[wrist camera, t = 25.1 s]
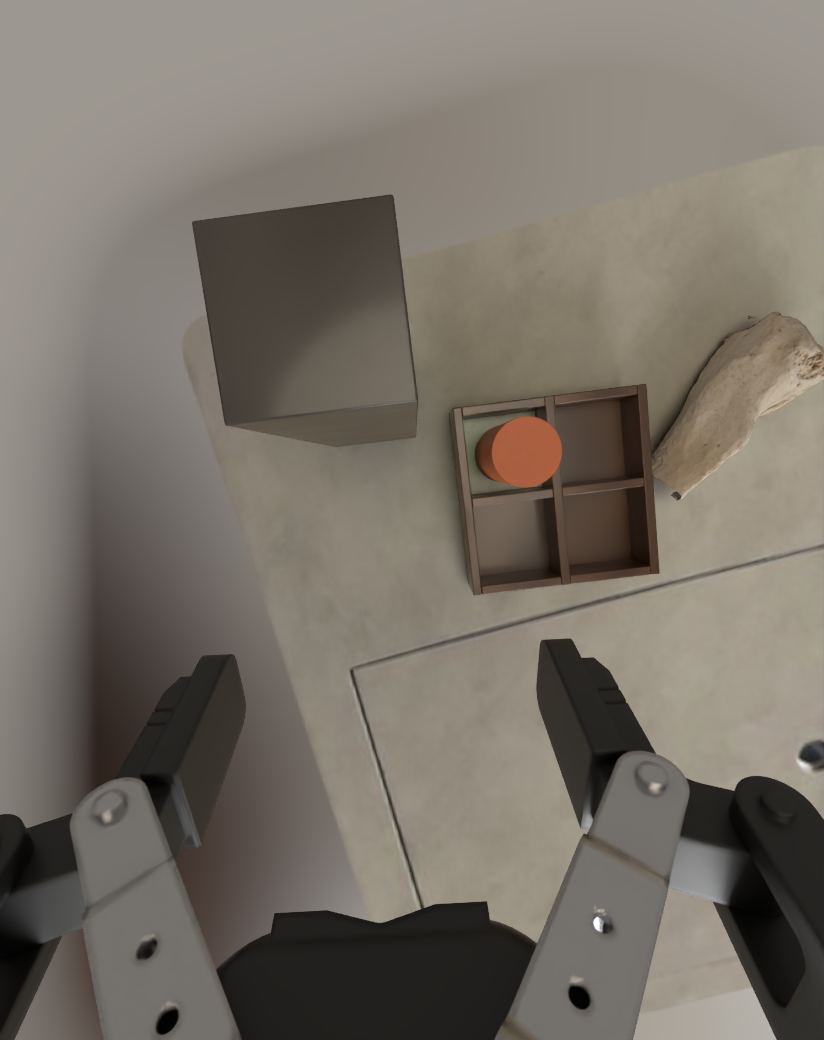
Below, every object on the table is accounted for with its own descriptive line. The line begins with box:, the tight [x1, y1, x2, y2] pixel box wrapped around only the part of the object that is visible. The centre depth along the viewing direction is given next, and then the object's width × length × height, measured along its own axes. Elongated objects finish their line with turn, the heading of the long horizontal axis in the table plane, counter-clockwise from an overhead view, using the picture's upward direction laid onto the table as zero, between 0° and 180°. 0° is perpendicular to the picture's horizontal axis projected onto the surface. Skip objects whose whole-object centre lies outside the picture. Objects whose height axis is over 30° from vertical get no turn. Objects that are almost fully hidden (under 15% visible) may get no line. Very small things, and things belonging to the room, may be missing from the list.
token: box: [475, 416, 562, 487], centre depth 33 cm, size 4×4×8 cm
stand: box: [192, 195, 418, 447], centre depth 26 cm, size 6×6×22 cm
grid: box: [449, 384, 659, 595], centre depth 36 cm, size 13×13×4 cm
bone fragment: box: [651, 312, 824, 501], centre depth 35 cm, size 14×6×5 cm, turn 136°
